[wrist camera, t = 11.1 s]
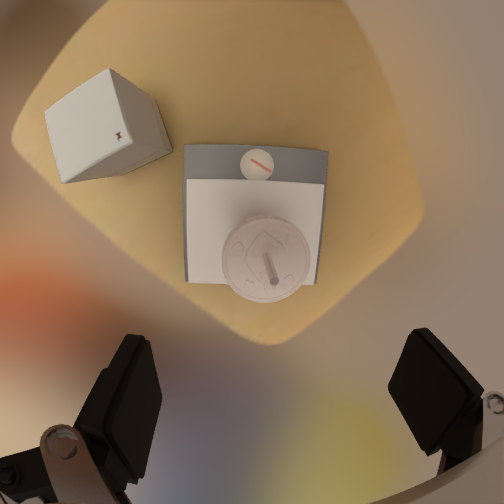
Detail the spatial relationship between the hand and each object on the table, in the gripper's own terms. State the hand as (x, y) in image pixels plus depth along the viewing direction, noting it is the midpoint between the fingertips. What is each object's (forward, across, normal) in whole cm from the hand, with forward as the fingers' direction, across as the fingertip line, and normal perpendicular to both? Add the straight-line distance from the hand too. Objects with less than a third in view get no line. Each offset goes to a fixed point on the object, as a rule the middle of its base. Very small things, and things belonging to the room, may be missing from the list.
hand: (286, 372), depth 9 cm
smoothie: (+21, 0, 0) cm, 21 cm away
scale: (+24, 0, -1) cm, 24 cm away
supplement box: (+25, +14, -10) cm, 30 cm away
